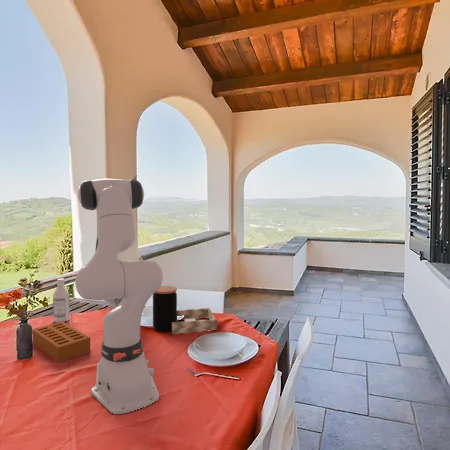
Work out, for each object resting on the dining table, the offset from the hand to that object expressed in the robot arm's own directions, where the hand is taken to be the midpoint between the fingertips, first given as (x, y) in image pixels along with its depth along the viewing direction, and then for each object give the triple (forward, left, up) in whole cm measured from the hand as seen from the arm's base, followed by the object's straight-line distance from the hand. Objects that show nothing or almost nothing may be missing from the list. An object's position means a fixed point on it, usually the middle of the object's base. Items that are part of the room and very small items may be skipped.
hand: (139, 316), depth 152 cm
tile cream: (-5, -23, -6) cm, 24 cm away
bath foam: (+31, +27, -6) cm, 42 cm away
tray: (-8, -22, -6) cm, 24 cm away
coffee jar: (-4, -11, -6) cm, 13 cm away
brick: (-1, +32, -7) cm, 33 cm away
